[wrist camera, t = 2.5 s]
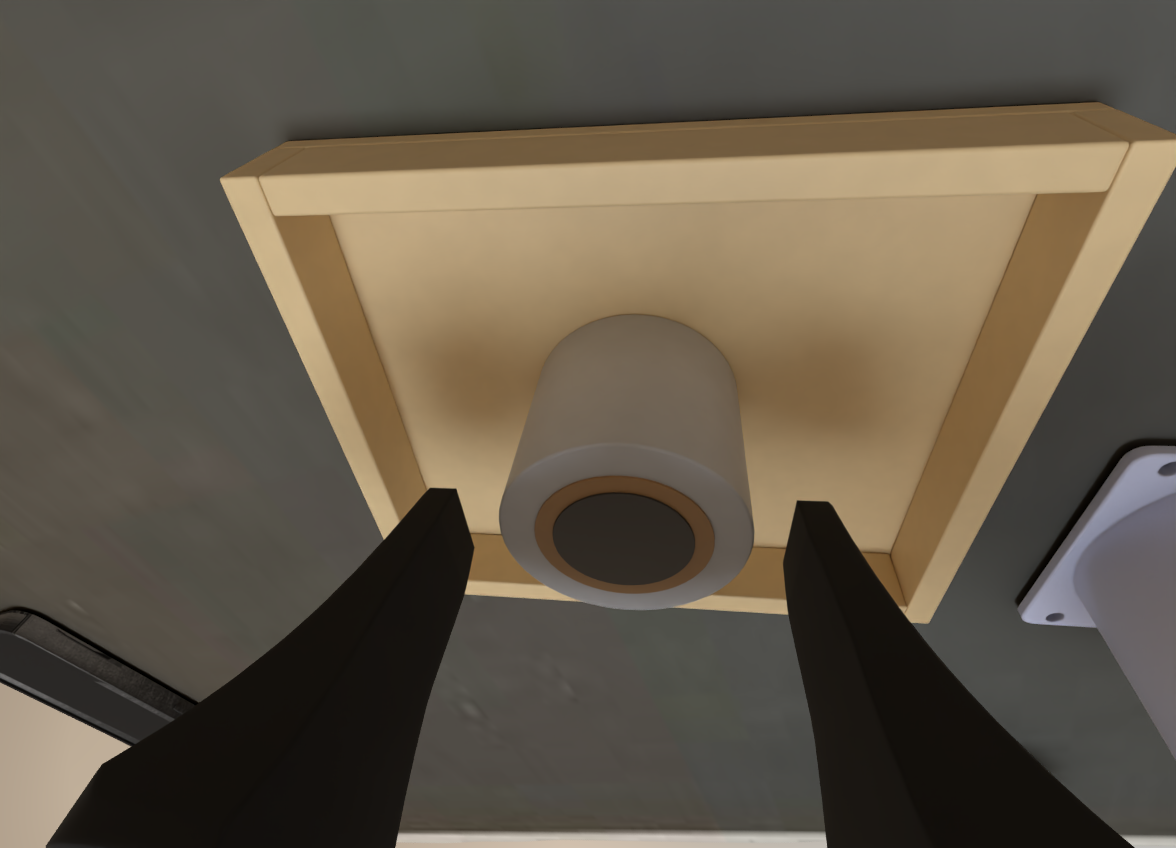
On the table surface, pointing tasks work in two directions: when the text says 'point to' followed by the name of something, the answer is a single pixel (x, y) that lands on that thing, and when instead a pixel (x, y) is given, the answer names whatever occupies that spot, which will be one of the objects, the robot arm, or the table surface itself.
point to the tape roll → (631, 469)
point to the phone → (82, 680)
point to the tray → (714, 302)
